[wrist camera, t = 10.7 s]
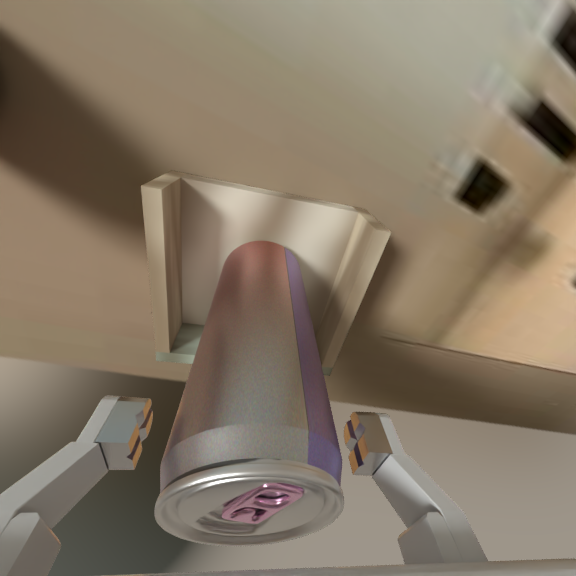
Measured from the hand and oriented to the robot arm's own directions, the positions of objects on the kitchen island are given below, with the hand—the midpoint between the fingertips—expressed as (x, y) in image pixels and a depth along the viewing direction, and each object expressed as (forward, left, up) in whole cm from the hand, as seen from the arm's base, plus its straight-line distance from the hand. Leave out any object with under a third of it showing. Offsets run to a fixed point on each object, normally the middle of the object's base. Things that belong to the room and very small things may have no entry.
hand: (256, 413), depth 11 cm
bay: (0, 0, -13) cm, 13 cm away
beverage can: (0, 0, -12) cm, 12 cm away
